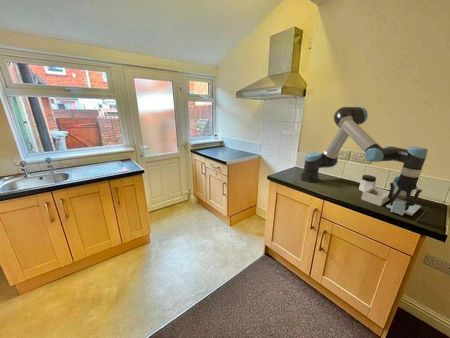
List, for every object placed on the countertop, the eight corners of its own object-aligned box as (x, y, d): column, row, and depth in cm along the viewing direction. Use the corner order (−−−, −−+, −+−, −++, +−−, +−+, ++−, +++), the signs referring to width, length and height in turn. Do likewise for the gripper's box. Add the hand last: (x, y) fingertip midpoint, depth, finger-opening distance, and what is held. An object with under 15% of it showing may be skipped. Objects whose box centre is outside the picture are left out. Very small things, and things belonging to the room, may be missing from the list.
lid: (382, 210, 115) (386, 198, 112) (395, 201, 126) (399, 190, 124) (409, 219, 105) (413, 206, 103) (420, 208, 117) (424, 197, 115)
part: (370, 196, 133) (371, 192, 132) (370, 195, 135) (371, 190, 134) (376, 198, 130) (377, 193, 129) (376, 196, 133) (378, 192, 132)
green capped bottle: (412, 203, 126) (421, 176, 120) (392, 200, 130) (401, 174, 124) (404, 196, 136) (412, 171, 130) (386, 194, 139) (393, 169, 133)
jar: (369, 194, 137) (373, 179, 134) (356, 190, 144) (360, 176, 140) (374, 192, 142) (378, 177, 138) (362, 188, 149) (365, 174, 145)
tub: (360, 200, 129) (363, 191, 127) (370, 194, 138) (372, 186, 136) (380, 207, 120) (382, 197, 118) (389, 200, 129) (392, 192, 127)
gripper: (387, 172, 108) (377, 208, 116) (429, 181, 95) (414, 221, 102) (392, 170, 112) (381, 205, 120) (433, 178, 99) (418, 217, 106)
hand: (396, 212), depth 111 cm, fingers closed on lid, 4 cm apart
